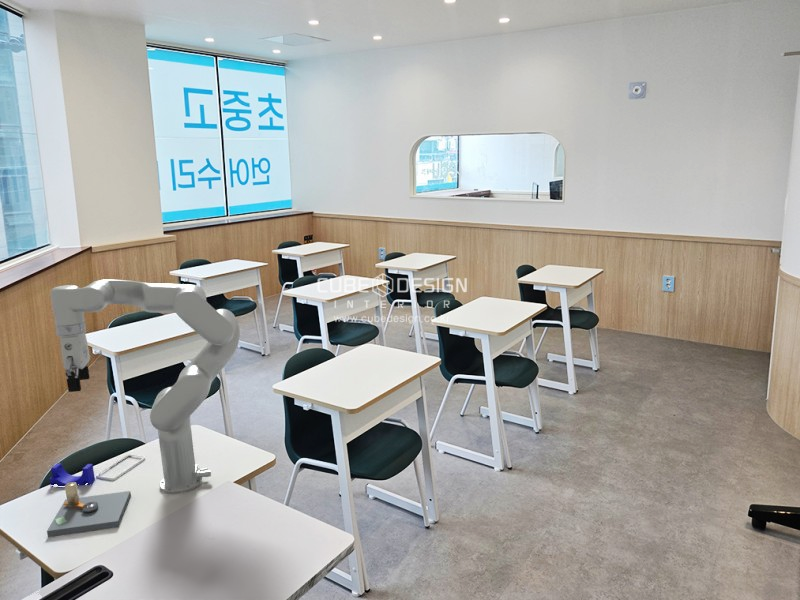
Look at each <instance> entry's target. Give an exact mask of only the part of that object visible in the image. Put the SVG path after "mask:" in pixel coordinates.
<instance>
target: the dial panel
mask: <svg viewBox="0 0 800 600" xmlns="http://www.w3.org/2000/svg"><path fill="white" fill-rule="evenodd" d="M131 498H132V493H131V490H127V491H119V492H112V493H111V492H110V493H103V494H98V495H88V496H81V497H80V496H79V501H80V502H79V503H83V504H86V503H89V502H97V503H98V509H97V510H96V511H94V512H92V513H84V512H83V509H82V508H77V507H72V506H66V505H64V503H65V502H66V501H67V498H66V499H65V500H64V501H63V503H62V504H61V507H60V508H59V510H58V512H57V513H56V515H55V517H54V518H53V519H52V521H51V524H50V525H49V527H48V528H47V530H46V534H47V538H55V537H61V536H68V535H69V536H70V535H75V534H83V533H89V532H95V531H96V532H97V531H105V530H111V529H117V528H120V526H121V523H122V520H123V519H124V516H125V514H126V511H127V508H128V505H129V503H130V500H131Z"/></svg>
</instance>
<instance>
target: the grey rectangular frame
mask: <svg viewBox="0 0 800 600" xmlns="http://www.w3.org/2000/svg"><path fill="white" fill-rule="evenodd" d="M128 456H132V457H139V458H141V459H140V460H138V461H137V462H134V463H133V464H131V465H130V466H129V467H128V468H126V469H125V470H122V471H121V472H120V473H119V474H117V475H115V476H114V477H110V476H104V475H101V474H102V473H104V472H106V471H107V470H109V468H111V467H112V466H114V465H115V464H117V463H118V462H120V461H122V460H123V459H125V458H126V459H128V458H129V457H128ZM127 457H128V458H127ZM145 458H146V456H145V455H138V454H132V453H128V454H126V455H125V456H123V457H122V458H120V459H119V460H117V461H116V462H114V463H112V464H111V465H109V466H108V467H106V468H104V469H103V470H102V471H100V472H98V473H97V474H96V475H95V479H99V478H101V479H100V480H105V479H106V481H110V482H111V481H112V482H113V481H115V480H118V479H119V478H120V477H122V476H123V475H124V473H125V474H126V473H128V472H130V470H132V469H134V468H135V467H137V466H138V465H140V464H141V463H143V462H144V461H145V460H146V459H145ZM126 459H125V460H126ZM144 459H145V460H144ZM143 460H144V461H143ZM123 461H124V460H123ZM123 461H122V462H123ZM140 462H141V463H140ZM120 463H121V462H120ZM118 464H119V463H118ZM118 464H117V465H118ZM137 464H138V465H137ZM136 465H137V466H136ZM115 466H116V465H115ZM115 466H114V467H115ZM133 467H134V468H133ZM112 468H113V467H112ZM112 468H111V469H112ZM99 475H100V476H99ZM121 475H122V476H121ZM118 477H119V478H118Z"/></svg>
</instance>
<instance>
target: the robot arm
mask: <svg viewBox="0 0 800 600" xmlns="http://www.w3.org/2000/svg"><path fill="white" fill-rule="evenodd" d="M49 293H50V294H49V295H50V299H51V301H50V302H51V307H52V313H53V318H54V324H55V325H54V326H55V332H56V337H58V338H60V350H61V358H62V360H61V361H62V364H63V369H64V370H65V378H66V385H67V389H68V393H73V392H81V390H82V386H81V381H82V380H83V381H84V380H85V381H86V380H89V379H90V378H91V377H90V371H89V365H88V364H89V362H90V361H91V354H90V350H89V344H88V339H87V335H86V333H87V325H86V319H85V313H96V312H101V311H102V310H104V309H105V308H106V307H107V306H108V305H128V306H134V307H137V308H140V309H141V310H142V311H144V312H147V313H151V314H153V313H165V314H166V313H167V314H168V313H171V314H175V313H176V315H177V316H178V317H179V318H180V319H181V321H183V322H184V323H185V324H187V326H189V327H190V328H191V329H192V330H193V331H195V333H197V335H199V336H201V338H203V339H204V340H205V341H207V343H206V344H205V345H204V347H203V348H202V349H201V350H200V352H198V354H196V356H195V357H194V358H193V359H192V360H191V361H190V362H189V363H188V364H187V365H186V366H185V367H184V368H183V369H182V370H181V372H180V373H179V376H178V378H177V380H176V382H175V383H174V384H173V385H172V386H168V387H166V388H163V389H162V390H161V391H159V392H158V394H157V395H156V398H155V399H154V401H153V404H152V407H151V409H150V412H149V413H150V414H149V419H150V420H149V421H150V423H151V425H152V426H153V428H154V429H156V430H157V432H158V442H159V450H160V458H161V463H162V464H161V465H162V466H161V467H162V472H163V473H162V474H163V478H162V479H161V481H160V482H159V489H160V491H161V492H163V493H165V494H172V495H175V494H176V495H177V494H184V493H186V492H190V491H192V490H194V489H196V488H197V487H198V486H199V485H200V484H201V483H202V481H203V478H208V477H211V476H212V471H211V470H209V469H208V467H205V468H204V467H203V468H200V467H199V465H198V464H197V463H196V460H195V459H196V458H195V452H194V451H195V450H194V443H193V434H192V427H191V426H192V424H191V415H192V414H193V413H194V412H195V411H196V410H197V409H198V408H199V406H201V405H202V403H203V402H204V401H205V400H206V398H207V397H208V396H209V393H210V389H211V385H212V383H213V381H214V380H215V378H217V376H218V375H219V374H220V372H222V370H223V369H224V368H225V367H226V366H227V364H228V363H229V362H230V361H231V359H232V358H233V356H234V355H235V353H236V351H237V349H238V345H239V342H240V336H241V335H240V334H241V333H240V325H239V323H238V319H237V318H236V316H235V315H234V313H233V312H232V311H230V309H229V310H228V309H226V308H219V309H215V308H214V306H212V305H211V304H210V303H208V300H207V295H206V292H205V290H204V289H203V288H202V287H201V286H199V285H196V284H189V283H187V284H186V283H185V284H184V283H182V284H181V283H151V282H150V283H149V282H144V281H143V282H142V281H136V280H128V279H127V280H126V279H125V280H124V279H99V280H95V281H92V282H91V283H89V284H88V285H86V286H84V287H79V286H77V285H74V284H68V285H67V284H66V285H65V284H64V285H59V286H56V287H53V288H52V289H51V290H50V292H49Z"/></svg>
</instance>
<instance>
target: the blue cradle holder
mask: <svg viewBox="0 0 800 600" xmlns="http://www.w3.org/2000/svg"><path fill="white" fill-rule="evenodd" d="M50 469H51V471H50V472H51V475H52V477H50V478H49V484H50V486H51V485H54V484H57V485H58V486H65V485H66V484H68V483H70V482H76V484H77V486H86V485H85V484H86V483H88V484H87V485H90V484H91V485H92V484H93V483H94V482H96V475H95V470H94V465H93V463H87V464H86V465H85V466H84V467H82V469H81V470H82V472H81V475H79V476H75V475H73V474H70V473H68V472H67V471H66V470H65V468H64V467H63V464H62V463H60V462H59V463H56V464H55V465H53V466H52V467H50ZM78 484H79V485H78ZM91 485H90V486H91Z"/></svg>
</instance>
